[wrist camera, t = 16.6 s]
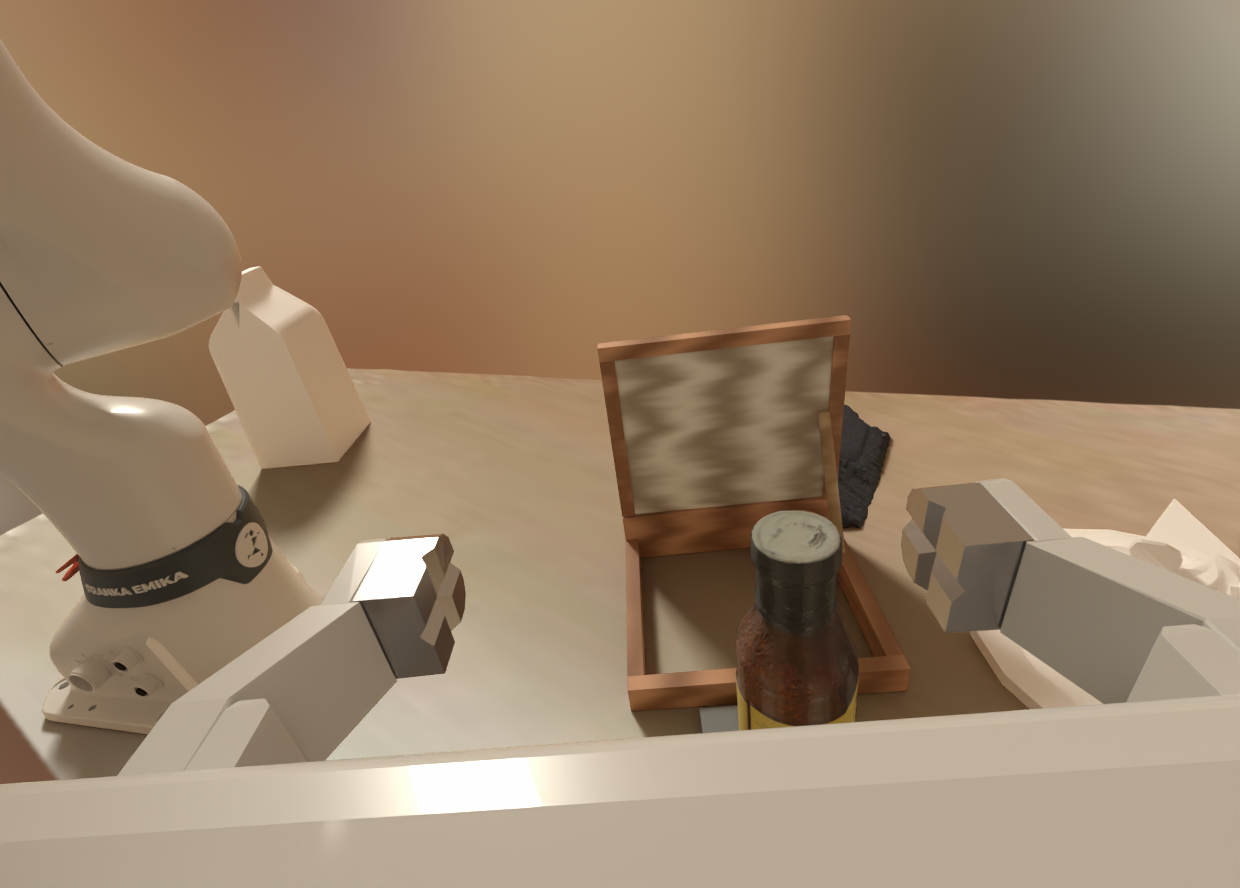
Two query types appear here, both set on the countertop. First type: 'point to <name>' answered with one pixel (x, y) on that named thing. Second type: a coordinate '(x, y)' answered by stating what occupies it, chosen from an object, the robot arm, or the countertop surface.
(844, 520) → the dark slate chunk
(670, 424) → the cedar box
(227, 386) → the milk
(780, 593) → the sauce bottle
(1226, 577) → the dish
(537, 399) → the countertop surface
